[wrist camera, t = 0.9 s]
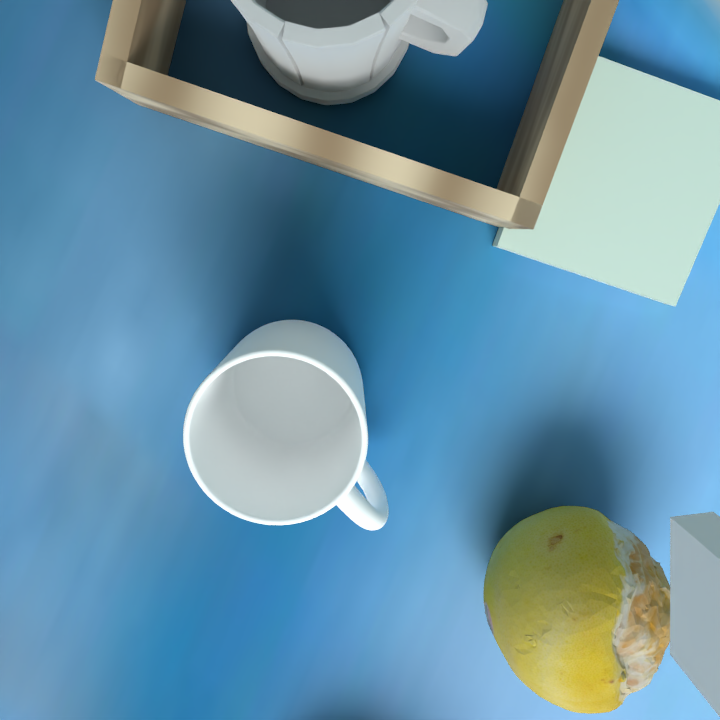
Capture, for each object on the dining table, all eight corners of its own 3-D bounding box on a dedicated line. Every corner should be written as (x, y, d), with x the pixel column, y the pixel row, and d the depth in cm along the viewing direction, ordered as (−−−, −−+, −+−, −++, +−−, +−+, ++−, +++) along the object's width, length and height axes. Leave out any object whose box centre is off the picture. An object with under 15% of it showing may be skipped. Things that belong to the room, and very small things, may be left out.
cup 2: (297, 288, 37) (279, 310, 27) (430, 433, 39) (458, 503, 29) (196, 380, 38) (143, 434, 28) (330, 517, 40) (325, 612, 30)
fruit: (511, 656, 43) (560, 784, 33) (442, 523, 40) (473, 618, 31) (652, 592, 42) (745, 703, 32) (589, 453, 40) (669, 528, 30)
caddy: (137, 104, 35) (94, 79, 29) (208, -192, 32) (177, -285, 26) (503, 228, 37) (533, 229, 31) (601, -41, 34) (655, -97, 28)
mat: (492, 245, 37) (497, 246, 36) (562, 51, 35) (570, 45, 34) (665, 303, 38) (675, 306, 37) (743, 118, 36) (757, 114, 35)
